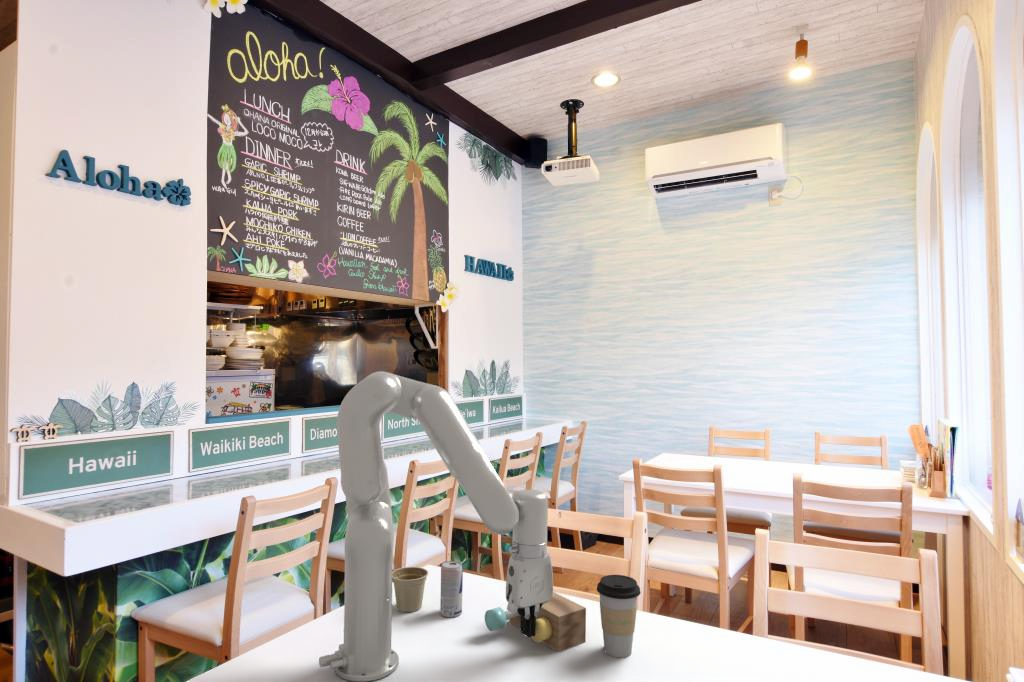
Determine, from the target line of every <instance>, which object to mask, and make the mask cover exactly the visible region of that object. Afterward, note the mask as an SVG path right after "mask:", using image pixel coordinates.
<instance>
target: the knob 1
mask: <svg viewBox="0 0 1024 682" xmlns="http://www.w3.org/2000/svg"><path fill="white" fill-rule="evenodd" d="M518 616H520V615H519V614H518V613H513V612H510V611H508V610H506V611H504V609H503V608H502V607H501V606H500V607H499V606H498V607H496V608H492V609H488V610H486V611H485V614H484V623H485V625H486V628H487V630H488V631H490V632H494V631H497V630H500V629H504V628H505V627H506V625H507V621H509V619H512V618H515V617H518Z"/></svg>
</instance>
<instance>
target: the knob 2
mask: <svg viewBox="0 0 1024 682" xmlns="http://www.w3.org/2000/svg"><path fill="white" fill-rule="evenodd" d="M551 636H552V626H551V623H550V621H549V620H548V619H547V618H545V617H542V618H539V619H536V630H535V636H531V637H530V638H531V639H532V641H534V642H535V643H540V642H541V641H543V640H546V639H549V638H551Z"/></svg>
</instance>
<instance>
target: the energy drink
mask: <svg viewBox="0 0 1024 682" xmlns="http://www.w3.org/2000/svg"><path fill="white" fill-rule="evenodd" d="M463 571H464V568H463V563H462V562H460V561H455V560H448V561H445V562H443V563H442V564H441V567H440V607H439V608H440V609H439V610H440V615H441V616H442V617H444V618H450V619H451V618H458V617H459V616H461V614H462V613H463V579H464V578H463V577H464V576H463V574H464V572H463Z"/></svg>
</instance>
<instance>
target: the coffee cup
mask: <svg viewBox="0 0 1024 682" xmlns="http://www.w3.org/2000/svg"><path fill="white" fill-rule="evenodd" d="M596 591H597V592H598V593H599V608H600V609H599V610H600V619H601V620H600V622H601V629H602V637H603V646H604V651H605V653H606V654H607V655H608V656H611V657H615V658H627V657H629V656H631V655H632V649H633V641H634V640H633V639H634V633H635V630H636V629H635V628H636V618H637V609H638V604H637V603H638V602H637V601H638V597H639V596H640V595H641V594H642V593H641V587H640V586H639V585H638V582H637V580H636V579H635V578H633V577H630V576H629V575H622V574H608V575H604V576H601V578H600V581H599V582H598V583H597V586H596Z"/></svg>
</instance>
